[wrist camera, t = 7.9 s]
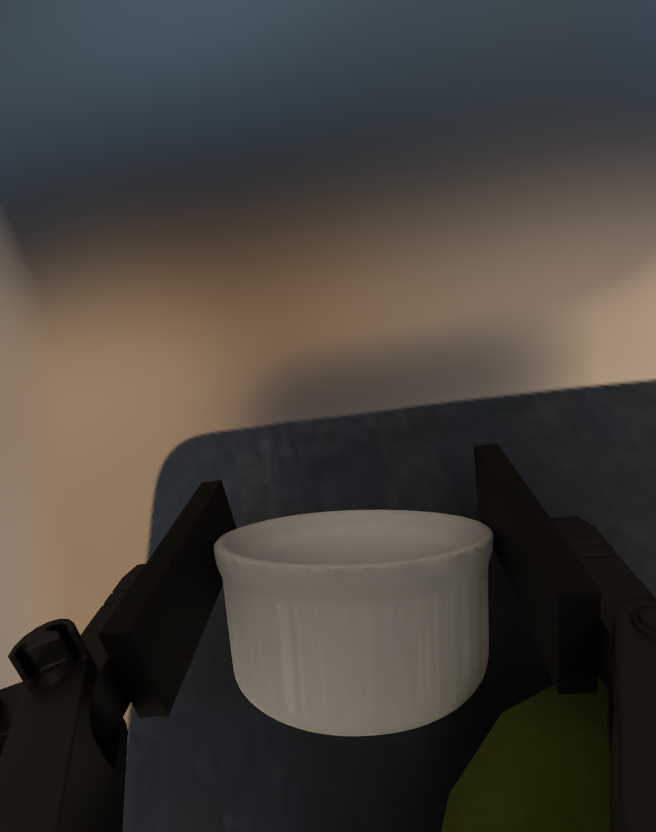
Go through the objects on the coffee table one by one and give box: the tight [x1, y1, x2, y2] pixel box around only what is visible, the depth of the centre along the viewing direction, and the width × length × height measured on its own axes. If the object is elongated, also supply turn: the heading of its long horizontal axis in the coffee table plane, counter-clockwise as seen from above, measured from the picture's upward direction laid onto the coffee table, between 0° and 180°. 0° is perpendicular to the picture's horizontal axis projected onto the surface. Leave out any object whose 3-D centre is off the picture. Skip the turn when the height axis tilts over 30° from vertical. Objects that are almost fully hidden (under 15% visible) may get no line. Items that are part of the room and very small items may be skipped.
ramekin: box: [214, 510, 494, 736], centre depth 14 cm, size 9×9×4 cm
